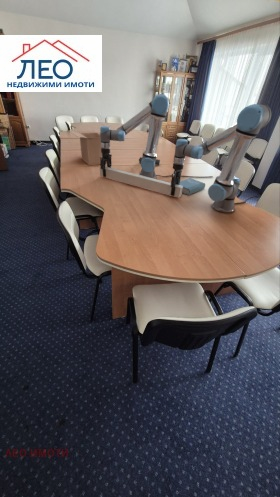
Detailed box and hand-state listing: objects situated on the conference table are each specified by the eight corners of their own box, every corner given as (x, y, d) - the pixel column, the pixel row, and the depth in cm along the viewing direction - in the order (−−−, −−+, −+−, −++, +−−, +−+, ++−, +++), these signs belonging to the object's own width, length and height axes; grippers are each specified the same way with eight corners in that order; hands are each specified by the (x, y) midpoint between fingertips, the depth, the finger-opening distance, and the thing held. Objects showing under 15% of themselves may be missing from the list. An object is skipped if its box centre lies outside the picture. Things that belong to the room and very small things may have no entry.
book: (188, 183, 198) (190, 178, 195) (204, 189, 190) (205, 183, 187) (173, 189, 185) (174, 183, 182) (188, 195, 176) (190, 189, 173)
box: (116, 165, 229) (116, 136, 213) (83, 168, 214) (80, 137, 198) (102, 154, 259) (101, 128, 243) (71, 156, 244) (68, 129, 228)
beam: (99, 176, 196) (99, 166, 191) (103, 174, 199) (102, 165, 195) (178, 198, 168) (180, 187, 163) (181, 195, 171) (183, 185, 166)
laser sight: (158, 166, 235) (159, 156, 229) (137, 164, 238) (138, 154, 232) (159, 164, 243) (160, 154, 237) (139, 161, 245) (140, 152, 239)
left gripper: (102, 150, 174) (103, 179, 187) (115, 146, 186) (115, 174, 200) (94, 148, 176) (96, 177, 190) (108, 145, 189) (109, 172, 203)
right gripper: (178, 167, 149) (173, 199, 163) (187, 161, 162) (182, 191, 176) (168, 165, 152) (164, 196, 166) (178, 159, 165) (173, 189, 179)
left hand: (106, 175), depth 195 cm, fingers closed on beam, 5 cm apart
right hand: (173, 194), depth 171 cm, fingers closed on beam, 5 cm apart
